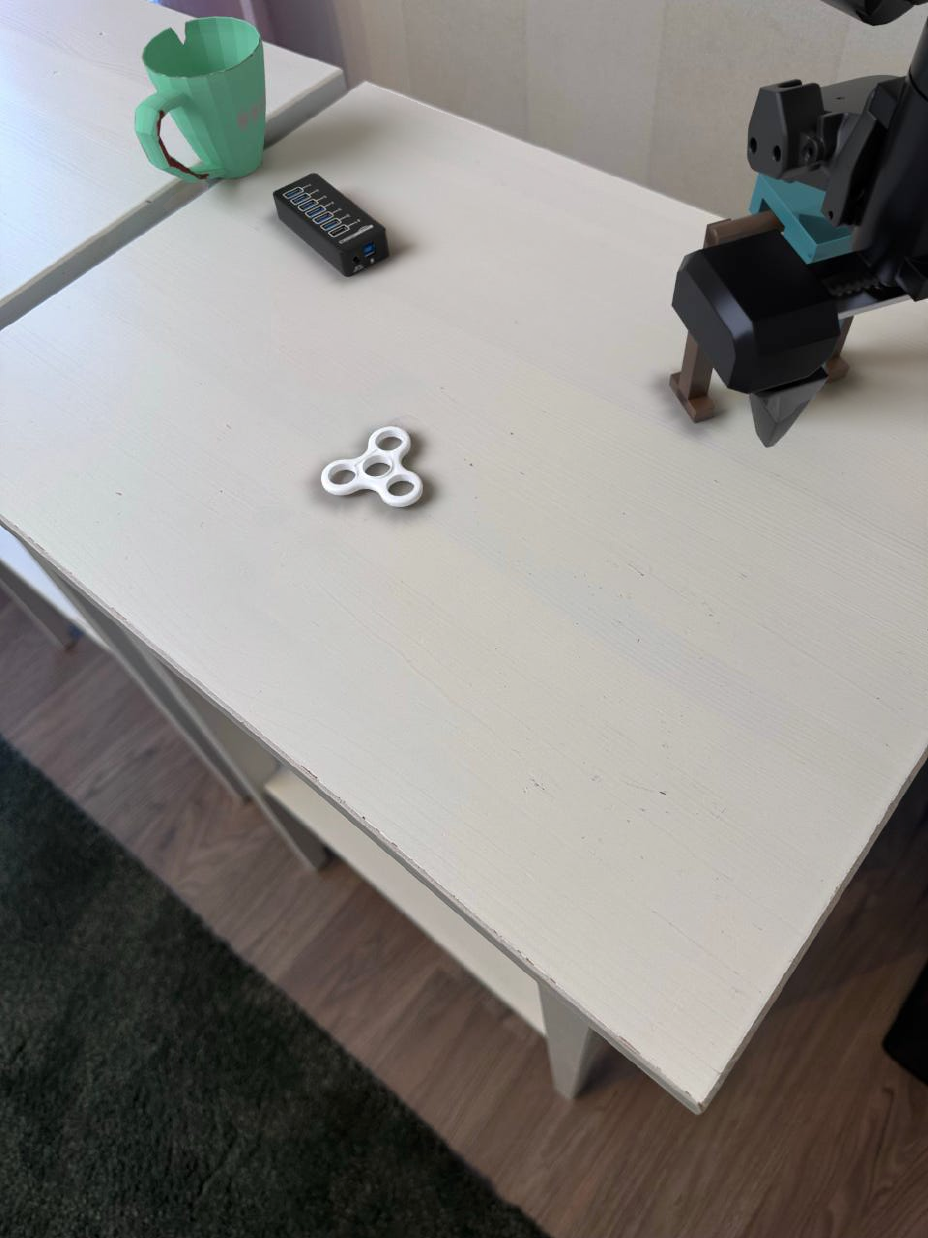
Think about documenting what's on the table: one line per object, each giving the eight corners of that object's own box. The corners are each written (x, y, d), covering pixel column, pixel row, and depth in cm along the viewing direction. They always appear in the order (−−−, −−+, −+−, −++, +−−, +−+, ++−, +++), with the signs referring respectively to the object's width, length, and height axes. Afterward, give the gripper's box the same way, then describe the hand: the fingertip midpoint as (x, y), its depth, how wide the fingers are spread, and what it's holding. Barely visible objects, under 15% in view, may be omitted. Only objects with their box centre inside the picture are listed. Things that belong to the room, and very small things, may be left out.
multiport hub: (320, 195, 78) (314, 170, 76) (391, 254, 73) (387, 228, 71) (276, 216, 77) (270, 191, 75) (346, 278, 72) (341, 252, 70)
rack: (846, 377, 62) (914, 196, 51) (693, 423, 61) (729, 248, 50) (816, 341, 65) (875, 159, 53) (668, 384, 63) (697, 208, 52)
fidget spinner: (392, 425, 63) (391, 417, 62) (455, 474, 60) (454, 466, 59) (314, 481, 60) (311, 473, 60) (375, 534, 58) (373, 527, 57)
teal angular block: (813, 394, 60) (883, 227, 49) (758, 410, 60) (816, 245, 48) (765, 326, 63) (821, 154, 52) (713, 341, 63) (758, 171, 51)
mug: (218, 125, 85) (183, 9, 77) (308, 142, 83) (282, 23, 74) (131, 215, 79) (82, 99, 70) (226, 236, 76) (187, 118, 68)
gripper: (1085, -80, 35) (929, 264, 48) (638, 24, 33) (604, 354, 46) (1311, 61, 29) (1063, 406, 43) (789, 199, 27) (701, 517, 40)
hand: (851, 414), depth 43 cm, fingers open, 9 cm apart
